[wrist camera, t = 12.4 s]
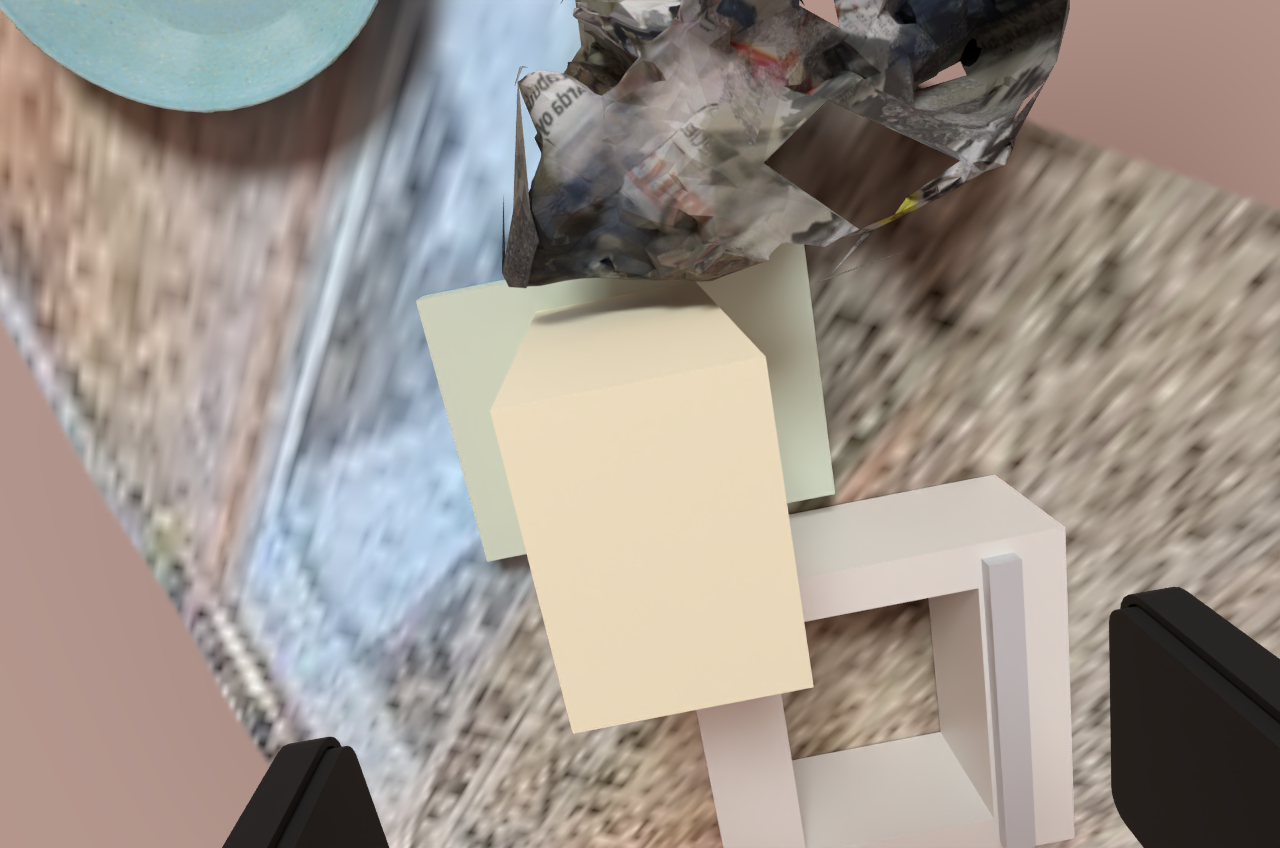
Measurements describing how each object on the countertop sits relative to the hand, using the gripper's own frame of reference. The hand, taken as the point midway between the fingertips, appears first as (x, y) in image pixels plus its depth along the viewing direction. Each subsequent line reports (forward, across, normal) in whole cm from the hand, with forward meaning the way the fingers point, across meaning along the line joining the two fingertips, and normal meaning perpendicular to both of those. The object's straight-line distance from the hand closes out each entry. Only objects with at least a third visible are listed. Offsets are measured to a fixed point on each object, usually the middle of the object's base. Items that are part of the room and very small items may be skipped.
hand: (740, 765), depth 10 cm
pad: (+18, +1, 0) cm, 18 cm away
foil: (+18, -5, -9) cm, 21 cm away
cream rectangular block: (+17, +1, 0) cm, 17 cm away
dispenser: (+18, -5, +11) cm, 22 cm away
